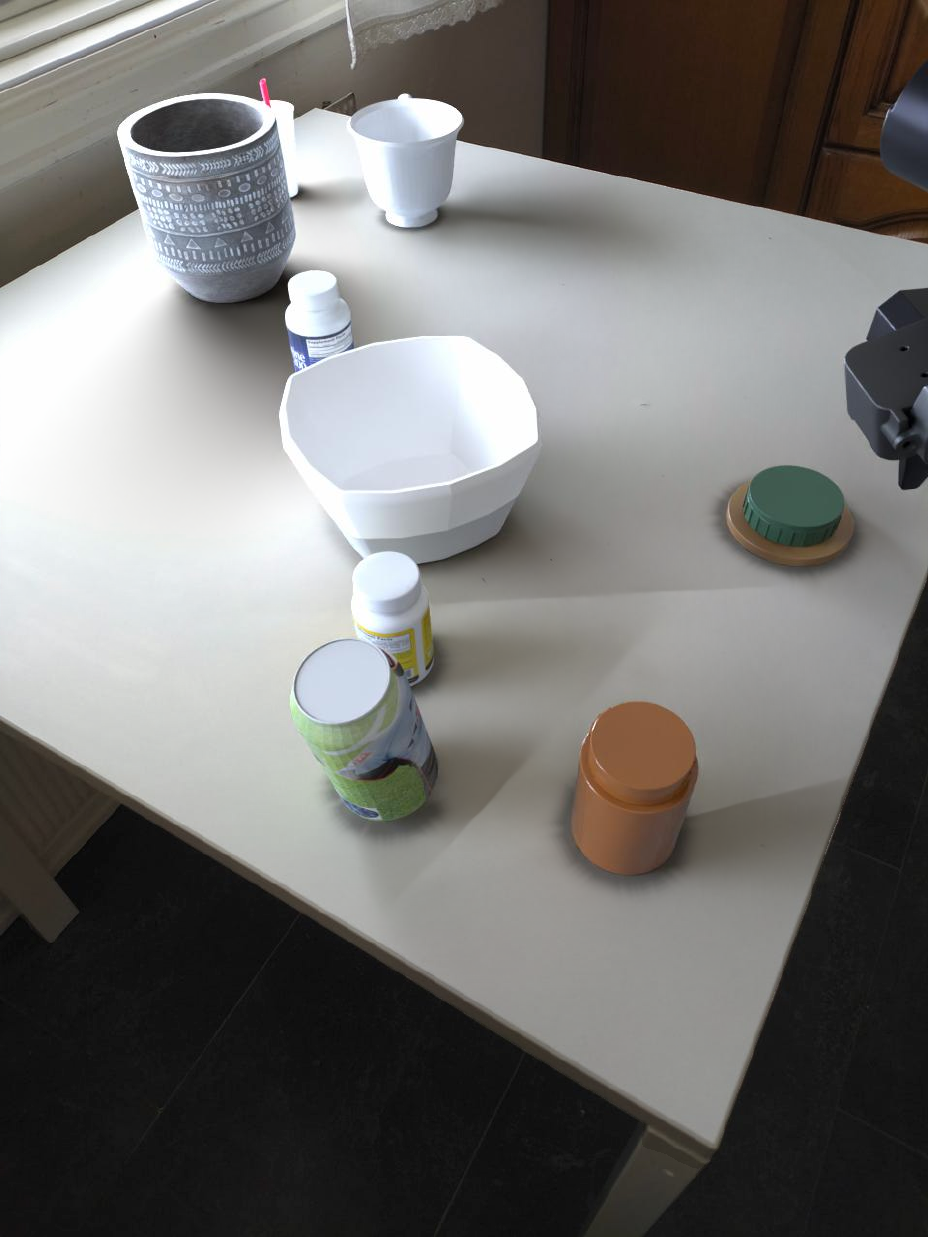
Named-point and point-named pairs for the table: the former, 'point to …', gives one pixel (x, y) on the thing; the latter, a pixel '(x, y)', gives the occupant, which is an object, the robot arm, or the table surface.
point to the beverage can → (364, 728)
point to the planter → (212, 193)
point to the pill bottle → (317, 319)
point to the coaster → (782, 552)
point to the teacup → (407, 156)
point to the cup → (284, 136)
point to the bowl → (413, 443)
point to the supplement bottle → (394, 611)
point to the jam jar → (633, 787)
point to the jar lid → (793, 505)
